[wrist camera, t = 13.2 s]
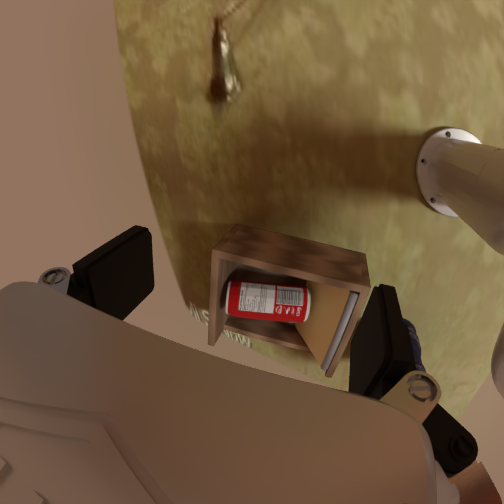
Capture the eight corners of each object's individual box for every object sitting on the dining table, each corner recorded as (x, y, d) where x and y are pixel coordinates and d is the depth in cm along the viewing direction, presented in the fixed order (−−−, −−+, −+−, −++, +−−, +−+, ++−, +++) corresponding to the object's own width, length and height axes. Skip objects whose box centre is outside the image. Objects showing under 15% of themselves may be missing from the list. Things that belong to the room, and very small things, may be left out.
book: (360, 294, 33) (353, 296, 33) (329, 369, 40) (322, 370, 39) (319, 253, 42) (312, 253, 42) (300, 324, 48) (294, 325, 48)
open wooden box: (365, 253, 40) (370, 287, 32) (335, 338, 48) (331, 377, 40) (236, 223, 44) (212, 249, 36) (228, 310, 52) (207, 344, 44)
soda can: (302, 304, 46) (227, 297, 46) (309, 278, 43) (228, 270, 43) (304, 330, 41) (223, 323, 41) (312, 304, 38) (223, 296, 38)
